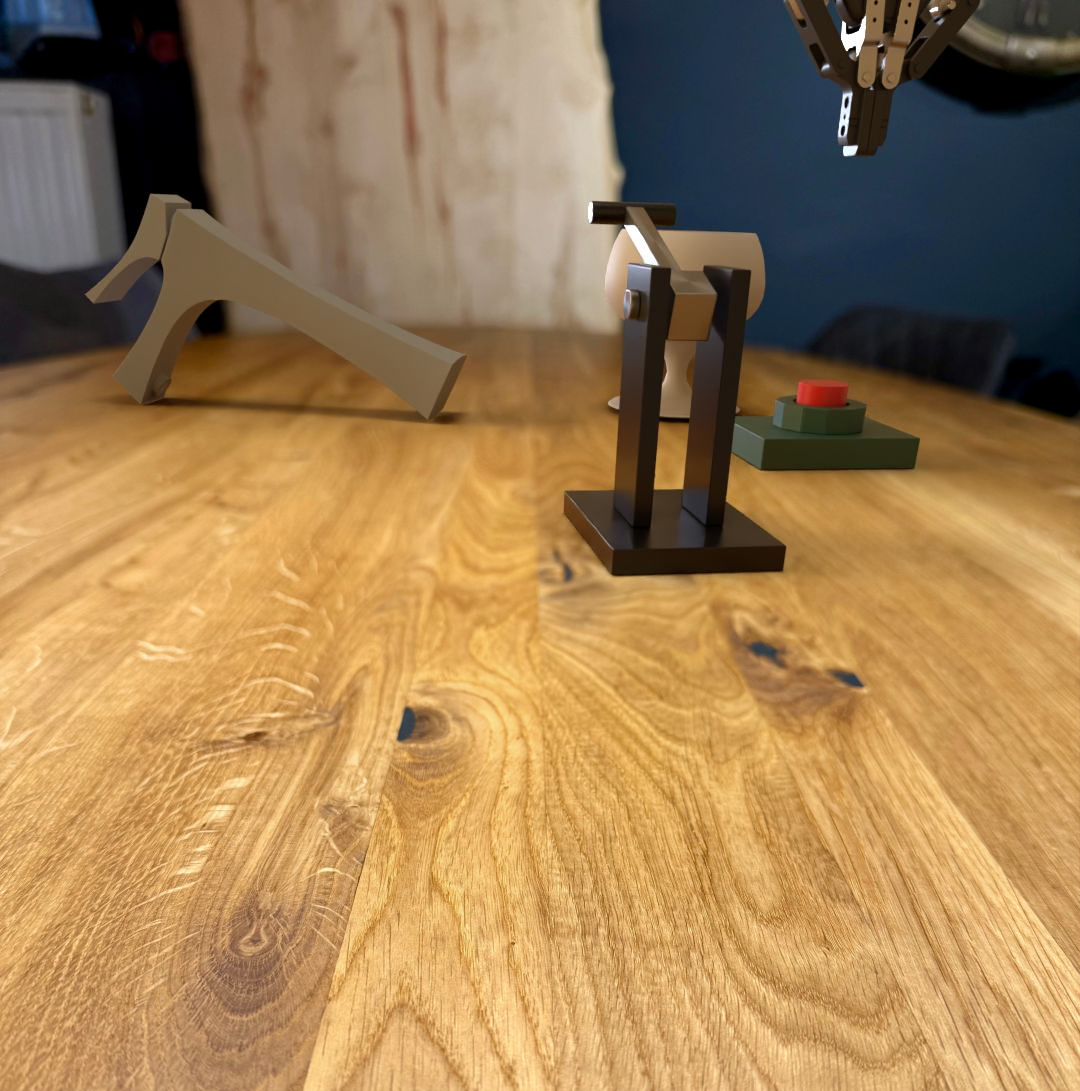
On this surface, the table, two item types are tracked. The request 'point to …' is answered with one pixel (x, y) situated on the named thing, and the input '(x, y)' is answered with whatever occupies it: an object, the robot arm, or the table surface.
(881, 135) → the robot arm
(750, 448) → the button box
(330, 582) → the table surface
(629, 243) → the chalice
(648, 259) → the lever
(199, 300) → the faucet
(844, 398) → the button
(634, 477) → the bracket
